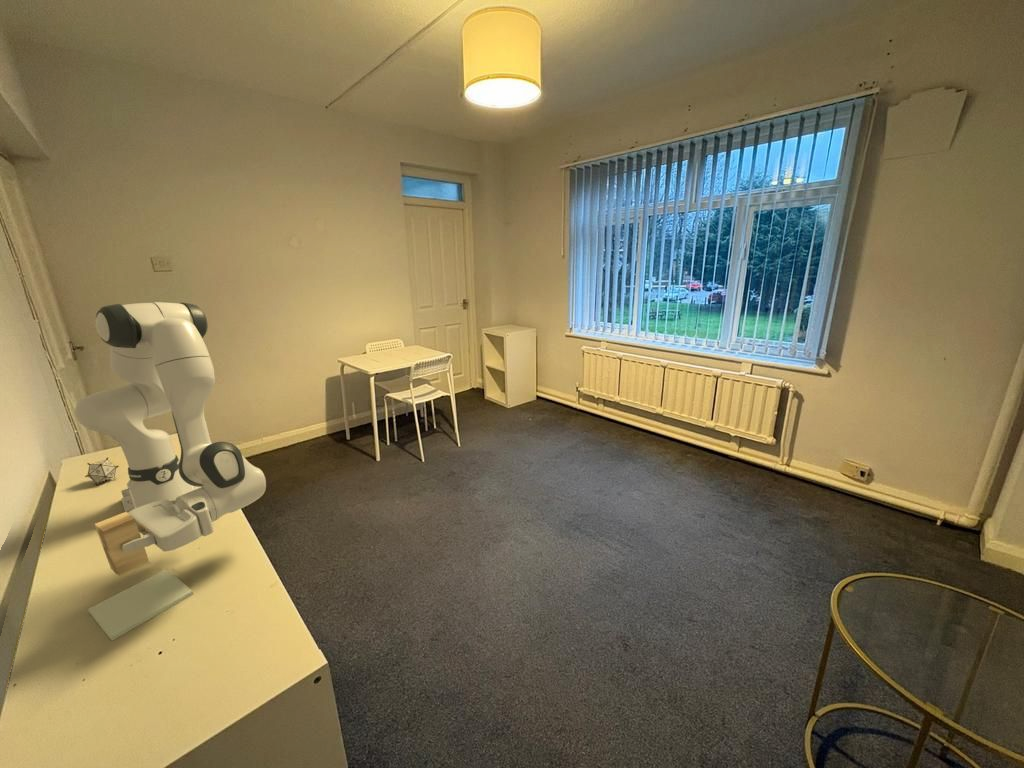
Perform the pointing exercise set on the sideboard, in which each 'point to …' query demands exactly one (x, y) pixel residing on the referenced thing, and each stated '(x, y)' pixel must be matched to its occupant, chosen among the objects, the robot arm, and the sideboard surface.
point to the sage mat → (139, 603)
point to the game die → (101, 471)
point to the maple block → (114, 535)
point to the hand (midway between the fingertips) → (116, 544)
